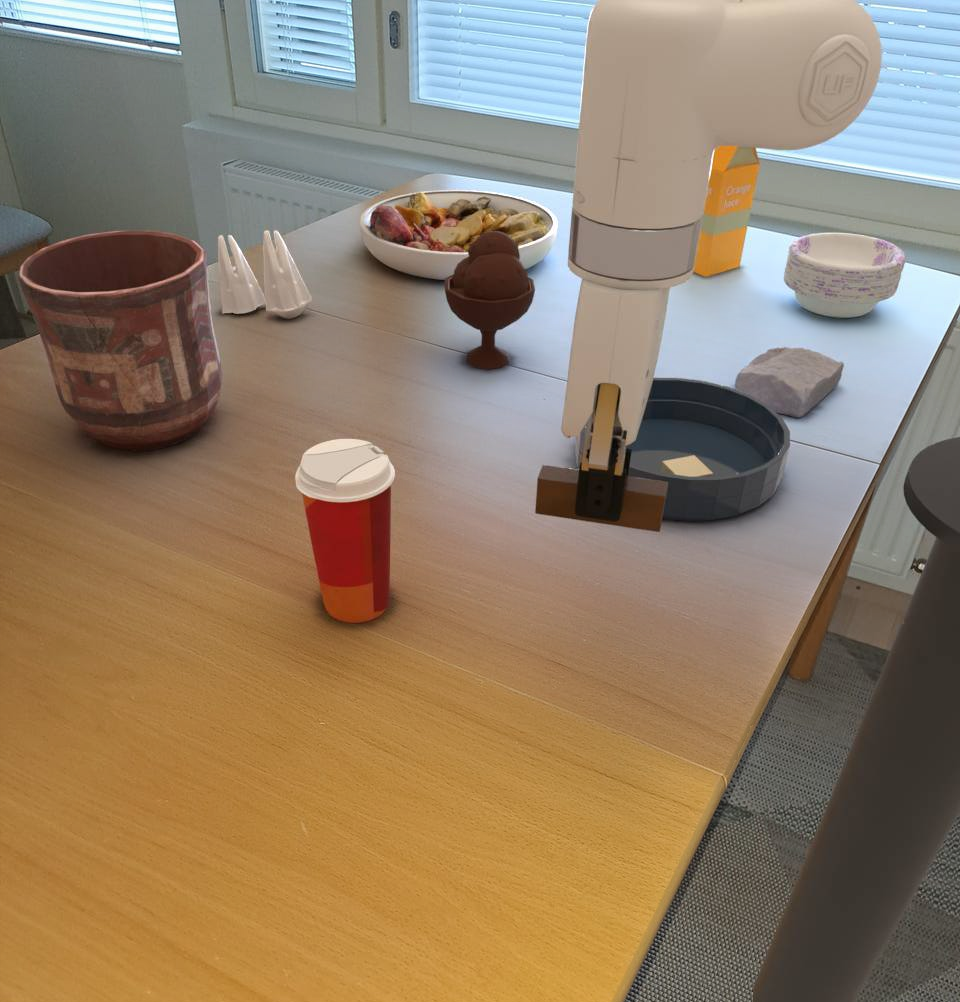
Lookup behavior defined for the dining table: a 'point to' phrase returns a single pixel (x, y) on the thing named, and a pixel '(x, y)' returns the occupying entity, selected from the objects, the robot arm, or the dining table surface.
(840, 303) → the paper bowls
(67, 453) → the dining table surface
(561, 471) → the brown wooden stick
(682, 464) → the block
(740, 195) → the orange juice
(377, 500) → the paper cup
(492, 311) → the ice cream bowl
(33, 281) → the pottery
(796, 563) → the dining table surface
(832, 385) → the stone block
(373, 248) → the bowl
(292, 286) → the shaker set
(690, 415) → the bowl
